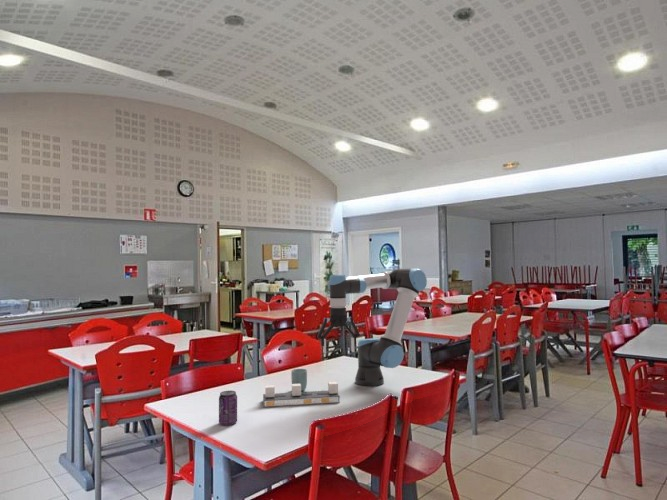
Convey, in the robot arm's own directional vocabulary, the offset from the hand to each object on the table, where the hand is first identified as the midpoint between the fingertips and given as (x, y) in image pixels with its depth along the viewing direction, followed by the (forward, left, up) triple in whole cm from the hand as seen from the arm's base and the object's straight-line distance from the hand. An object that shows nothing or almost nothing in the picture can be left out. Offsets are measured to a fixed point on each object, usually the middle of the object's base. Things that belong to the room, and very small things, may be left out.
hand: (338, 352), depth 210 cm
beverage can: (+49, +25, -21) cm, 59 cm away
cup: (+17, -17, -21) cm, 32 cm away
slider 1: (+32, +2, -18) cm, 37 cm away
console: (+18, +2, -21) cm, 28 cm away
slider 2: (+20, +2, -18) cm, 27 cm away
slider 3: (+3, +2, -18) cm, 18 cm away
